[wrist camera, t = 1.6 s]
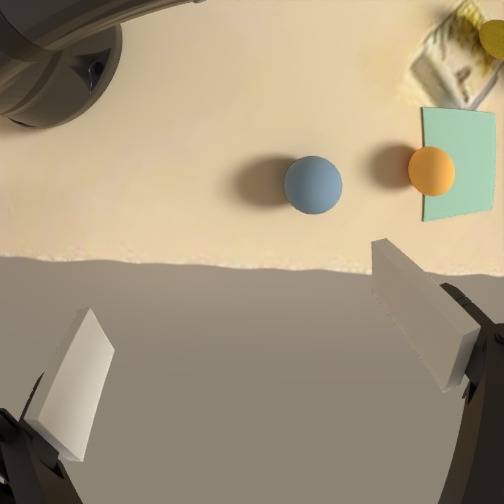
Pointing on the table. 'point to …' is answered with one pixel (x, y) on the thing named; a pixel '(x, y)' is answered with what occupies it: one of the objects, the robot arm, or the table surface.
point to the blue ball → (312, 185)
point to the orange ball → (431, 171)
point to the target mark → (462, 160)
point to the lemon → (493, 38)
